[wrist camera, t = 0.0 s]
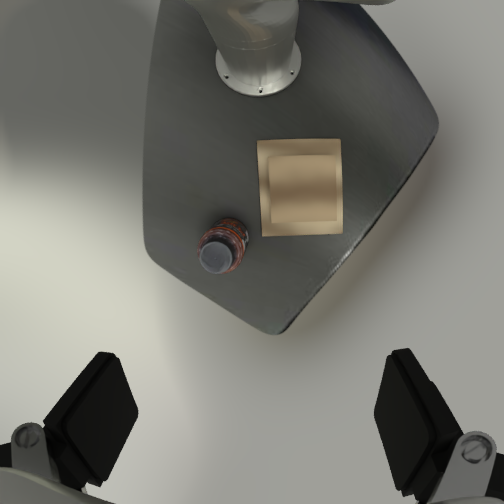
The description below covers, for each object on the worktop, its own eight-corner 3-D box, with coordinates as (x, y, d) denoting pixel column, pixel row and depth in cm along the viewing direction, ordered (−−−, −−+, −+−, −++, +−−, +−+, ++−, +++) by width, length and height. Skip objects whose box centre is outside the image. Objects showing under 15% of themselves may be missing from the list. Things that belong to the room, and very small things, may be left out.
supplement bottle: (253, 223, 45) (247, 242, 34) (243, 259, 47) (234, 288, 36) (215, 212, 45) (197, 227, 34) (206, 248, 47) (186, 274, 36)
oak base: (257, 141, 42) (255, 138, 38) (338, 139, 41) (345, 137, 37) (262, 234, 45) (261, 241, 42) (341, 232, 44) (347, 238, 41)
